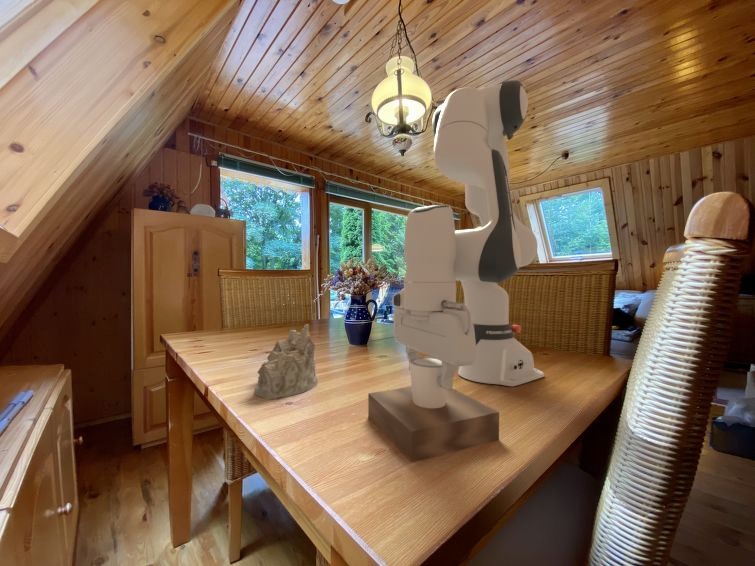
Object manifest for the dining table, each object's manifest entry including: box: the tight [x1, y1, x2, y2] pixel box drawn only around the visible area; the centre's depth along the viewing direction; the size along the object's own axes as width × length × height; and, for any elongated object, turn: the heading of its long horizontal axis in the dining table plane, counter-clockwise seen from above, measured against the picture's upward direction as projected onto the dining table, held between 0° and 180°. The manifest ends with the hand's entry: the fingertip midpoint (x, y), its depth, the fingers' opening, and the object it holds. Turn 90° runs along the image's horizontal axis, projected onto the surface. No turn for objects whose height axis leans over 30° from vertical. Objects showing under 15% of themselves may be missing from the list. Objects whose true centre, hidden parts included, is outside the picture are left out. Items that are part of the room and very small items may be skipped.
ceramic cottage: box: [253, 323, 318, 400], centre depth 76 cm, size 16×16×15 cm
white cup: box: [409, 356, 447, 408], centre depth 54 cm, size 7×7×7 cm
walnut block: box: [367, 386, 500, 464], centre depth 54 cm, size 16×16×5 cm
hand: (429, 379), depth 54 cm, fingers open, 8 cm apart
